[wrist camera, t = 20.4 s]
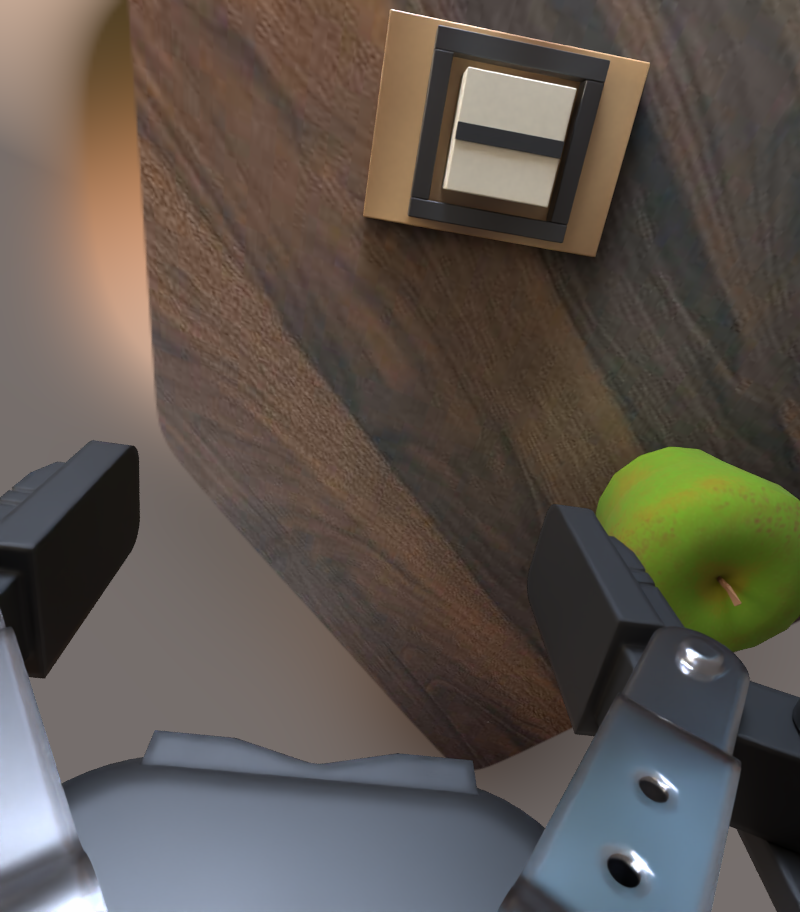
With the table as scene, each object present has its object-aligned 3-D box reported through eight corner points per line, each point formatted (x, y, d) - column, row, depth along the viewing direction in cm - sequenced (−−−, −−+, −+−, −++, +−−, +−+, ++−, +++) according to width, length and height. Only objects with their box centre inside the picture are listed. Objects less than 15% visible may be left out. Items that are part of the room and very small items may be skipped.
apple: (778, 466, 43) (901, 555, 33) (678, 594, 48) (759, 707, 38) (632, 398, 41) (715, 471, 31) (542, 540, 45) (588, 645, 35)
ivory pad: (441, 188, 34) (445, 189, 32) (461, 74, 32) (468, 66, 30) (536, 206, 35) (548, 207, 32) (563, 94, 33) (577, 88, 30)
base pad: (363, 215, 36) (362, 218, 34) (389, 13, 32) (390, 2, 30) (590, 255, 37) (602, 260, 35) (643, 65, 33) (660, 58, 31)
